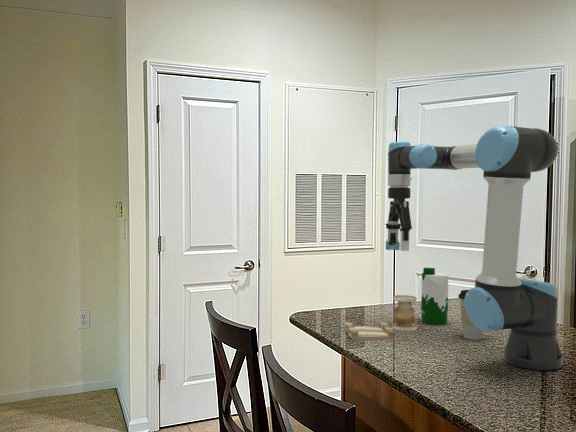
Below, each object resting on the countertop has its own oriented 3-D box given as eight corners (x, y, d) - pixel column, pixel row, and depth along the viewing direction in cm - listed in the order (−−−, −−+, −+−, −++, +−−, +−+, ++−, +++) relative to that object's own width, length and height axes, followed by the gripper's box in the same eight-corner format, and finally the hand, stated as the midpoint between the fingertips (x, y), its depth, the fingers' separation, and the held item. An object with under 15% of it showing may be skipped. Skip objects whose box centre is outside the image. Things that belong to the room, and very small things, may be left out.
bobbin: (420, 331, 186) (421, 299, 186) (394, 331, 186) (395, 299, 185) (413, 325, 195) (413, 294, 195) (388, 325, 195) (388, 294, 194)
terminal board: (395, 340, 175) (395, 331, 175) (351, 340, 174) (351, 332, 174) (384, 329, 189) (385, 321, 189) (344, 329, 188) (344, 322, 188)
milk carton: (419, 320, 203) (419, 266, 202) (443, 320, 203) (444, 266, 202) (424, 326, 194) (425, 269, 193) (450, 326, 194) (451, 270, 193)
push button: (403, 248, 197) (404, 220, 195) (404, 251, 191) (405, 222, 190) (384, 247, 197) (385, 220, 196) (385, 250, 192) (386, 222, 191)
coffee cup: (490, 342, 173) (491, 294, 173) (459, 340, 175) (459, 293, 175) (485, 334, 183) (486, 289, 182) (456, 333, 184) (456, 288, 184)
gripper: (422, 186, 177) (421, 252, 178) (399, 188, 202) (398, 245, 202) (399, 186, 176) (398, 252, 177) (379, 187, 201) (378, 246, 202)
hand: (398, 249), depth 190 cm, fingers open, 13 cm apart
